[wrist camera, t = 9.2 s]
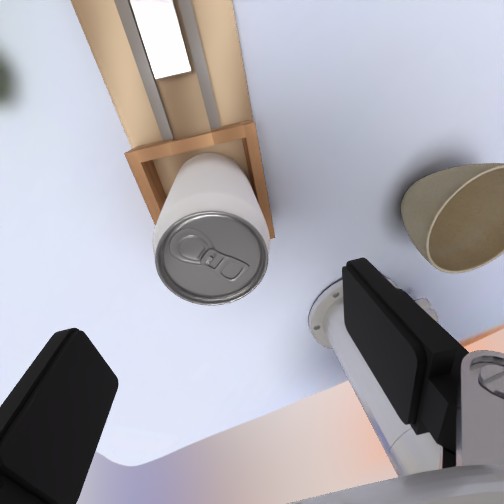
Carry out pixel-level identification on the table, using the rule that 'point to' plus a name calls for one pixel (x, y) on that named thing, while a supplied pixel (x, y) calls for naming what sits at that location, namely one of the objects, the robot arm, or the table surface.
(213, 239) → the can
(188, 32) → the mount
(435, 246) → the flower pot
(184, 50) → the lock bolt
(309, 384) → the table surface
